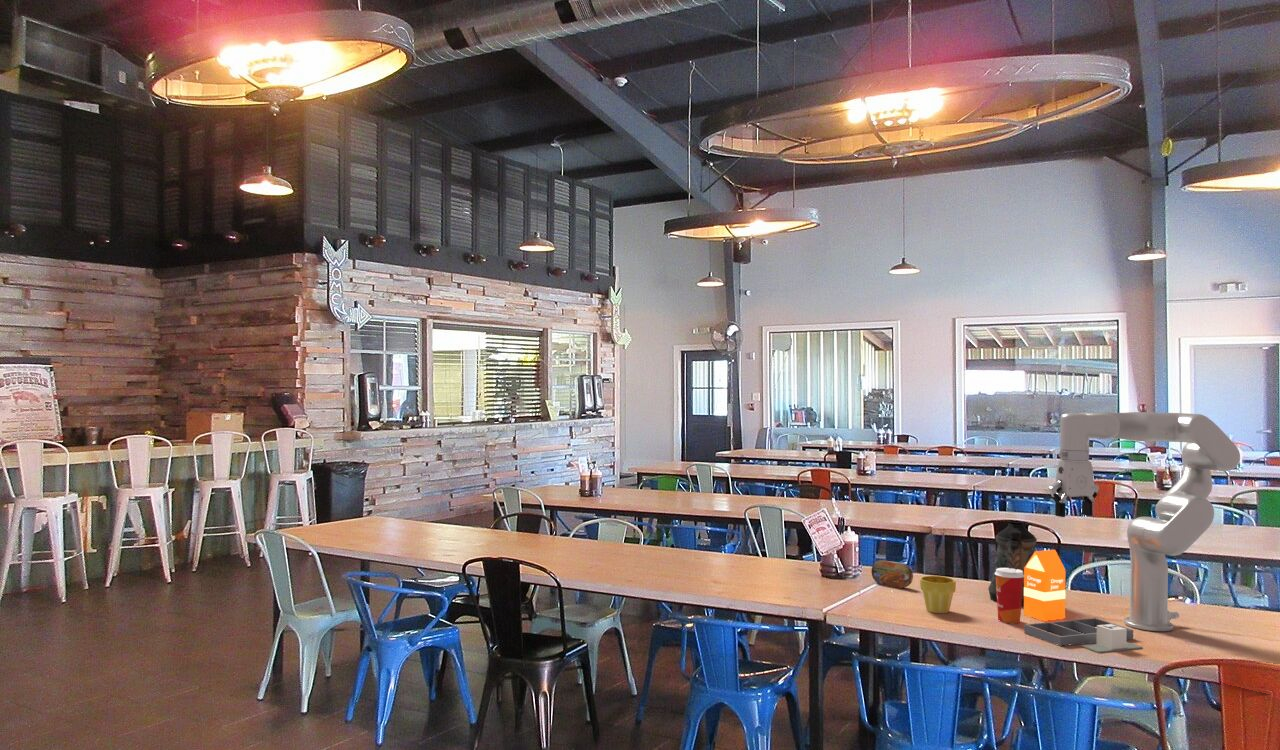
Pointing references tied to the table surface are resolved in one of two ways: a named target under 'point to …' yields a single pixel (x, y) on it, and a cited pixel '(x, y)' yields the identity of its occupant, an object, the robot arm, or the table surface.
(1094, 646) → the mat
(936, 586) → the plant pot
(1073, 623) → the sorting box
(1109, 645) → the letter cube
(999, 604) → the coffee cup
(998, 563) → the dark ornate vase
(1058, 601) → the orange juice
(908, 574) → the tin
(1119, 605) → the table surface
